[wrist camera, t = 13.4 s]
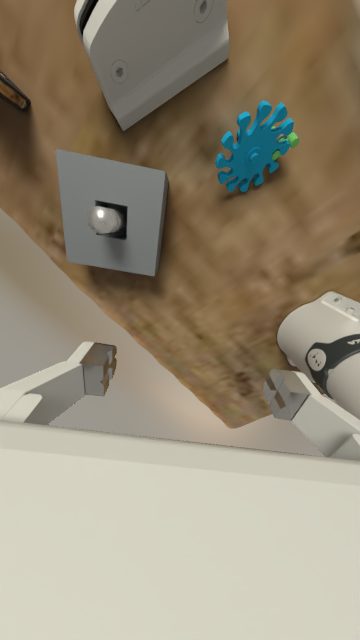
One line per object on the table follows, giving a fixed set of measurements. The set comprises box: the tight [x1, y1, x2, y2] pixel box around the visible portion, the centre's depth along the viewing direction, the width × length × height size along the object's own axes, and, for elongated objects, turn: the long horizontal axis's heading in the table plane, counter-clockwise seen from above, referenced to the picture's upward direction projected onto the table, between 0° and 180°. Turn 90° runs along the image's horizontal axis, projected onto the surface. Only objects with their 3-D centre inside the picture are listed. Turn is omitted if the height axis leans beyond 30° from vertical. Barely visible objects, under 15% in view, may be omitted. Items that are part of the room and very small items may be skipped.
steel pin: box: [87, 206, 127, 234], centre depth 27 cm, size 3×3×10 cm
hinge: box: [74, 0, 229, 131], centre depth 21 cm, size 17×5×10 cm, turn 116°
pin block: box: [55, 149, 169, 276], centre depth 30 cm, size 14×14×6 cm
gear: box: [215, 101, 299, 192], centre depth 26 cm, size 11×6×10 cm
